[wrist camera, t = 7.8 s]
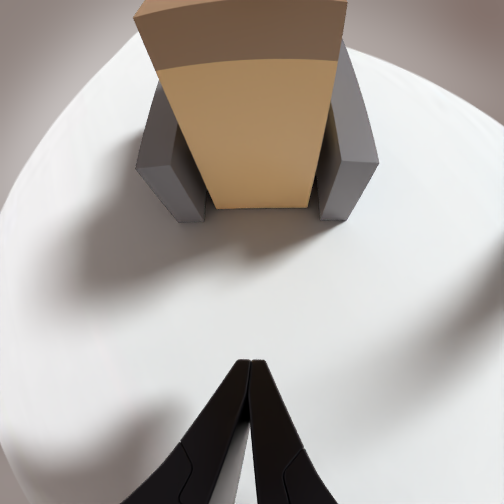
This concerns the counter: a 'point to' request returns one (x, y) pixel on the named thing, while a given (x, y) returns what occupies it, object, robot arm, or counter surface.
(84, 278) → the counter surface
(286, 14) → the tan cardboard box
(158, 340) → the counter surface
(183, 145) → the socket cradle
